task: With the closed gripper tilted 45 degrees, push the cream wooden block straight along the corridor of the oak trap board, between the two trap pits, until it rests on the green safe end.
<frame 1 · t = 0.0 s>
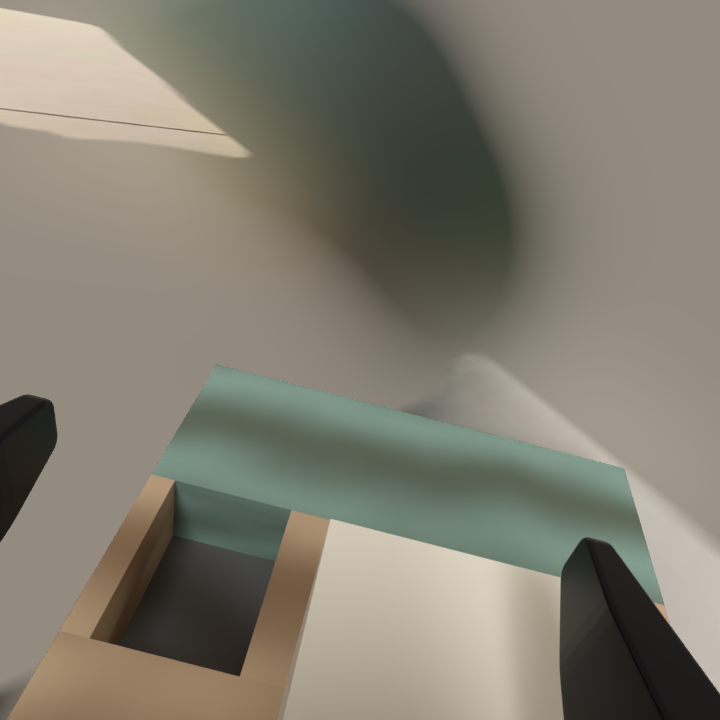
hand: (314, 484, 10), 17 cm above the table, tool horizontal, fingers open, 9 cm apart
trap board: (375, 681, 24), on the table
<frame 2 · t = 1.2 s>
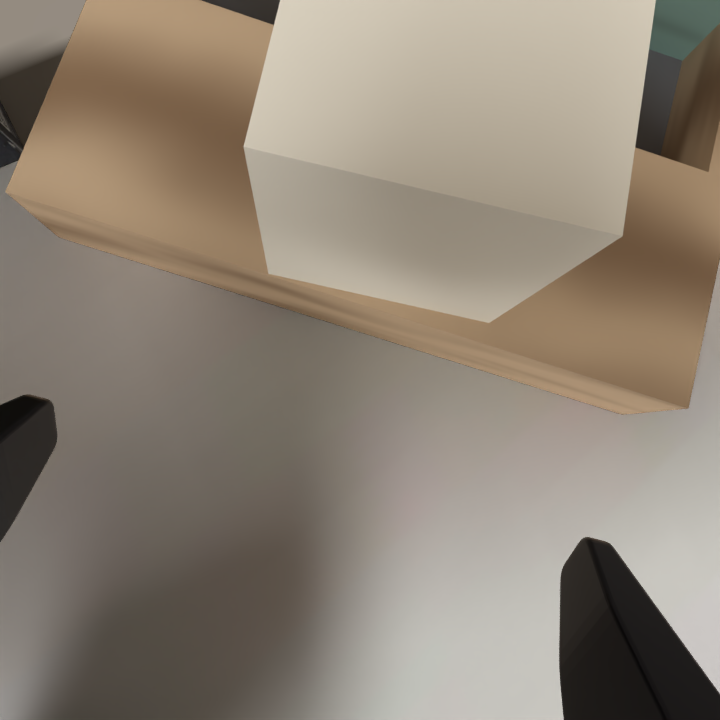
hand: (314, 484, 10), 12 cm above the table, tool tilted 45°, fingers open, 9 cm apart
trap board: (426, 71, 24), on the table
cream block: (404, 179, 19), point 4 cm above the table, touching trap board
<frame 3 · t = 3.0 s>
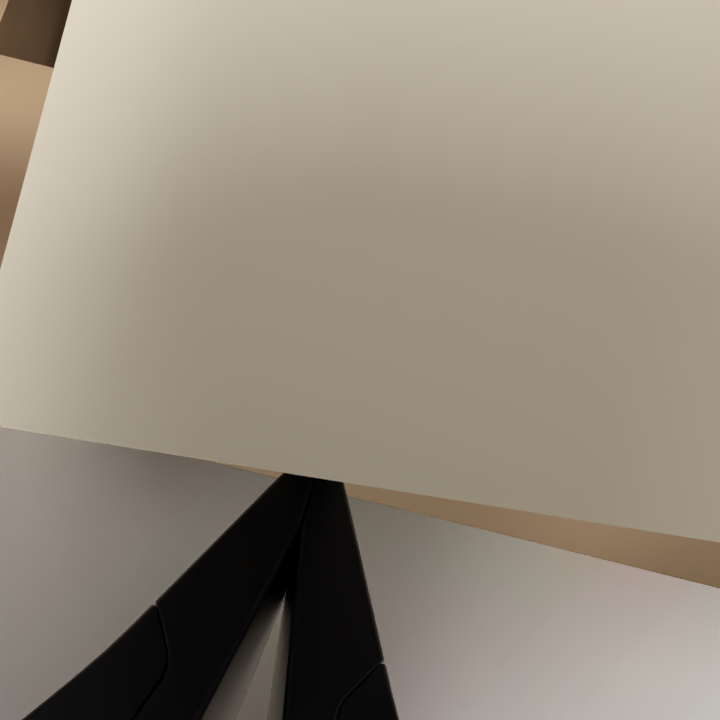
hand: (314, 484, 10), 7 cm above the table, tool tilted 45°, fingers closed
trap board: (405, 130, 19), on the table
cream block: (372, 292, 14), point 4 cm above the table, touching gripper, trap board
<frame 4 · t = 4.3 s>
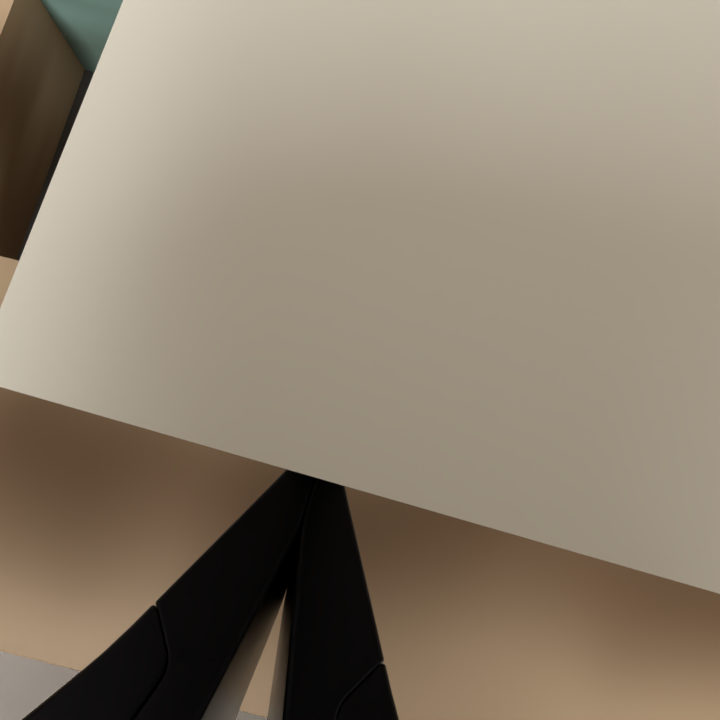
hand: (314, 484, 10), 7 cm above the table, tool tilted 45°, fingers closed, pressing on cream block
trap board: (369, 273, 18), on the table
cream block: (388, 301, 14), point 4 cm above the table, touching gripper
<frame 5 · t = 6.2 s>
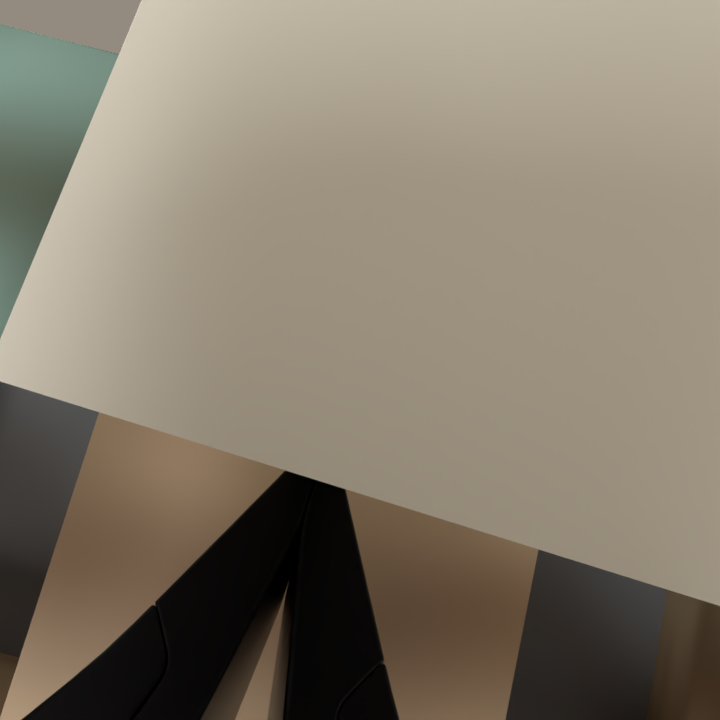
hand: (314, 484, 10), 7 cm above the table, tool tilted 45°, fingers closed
trap board: (290, 598, 17), on the table
cream block: (398, 302, 14), point 4 cm above the table, touching gripper
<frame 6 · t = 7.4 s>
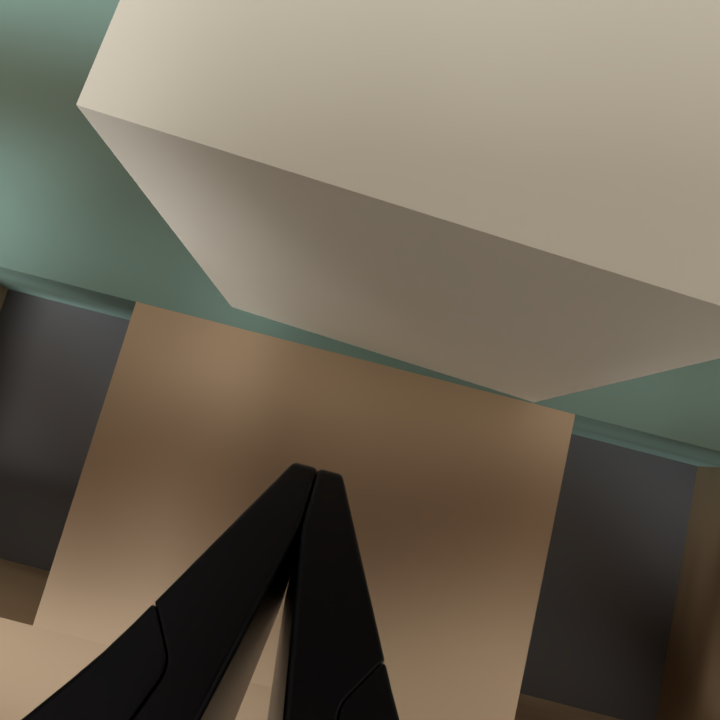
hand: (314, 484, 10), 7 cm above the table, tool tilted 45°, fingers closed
trap board: (315, 518, 17), on the table
cream block: (433, 191, 14), point 4 cm above the table, touching trap board
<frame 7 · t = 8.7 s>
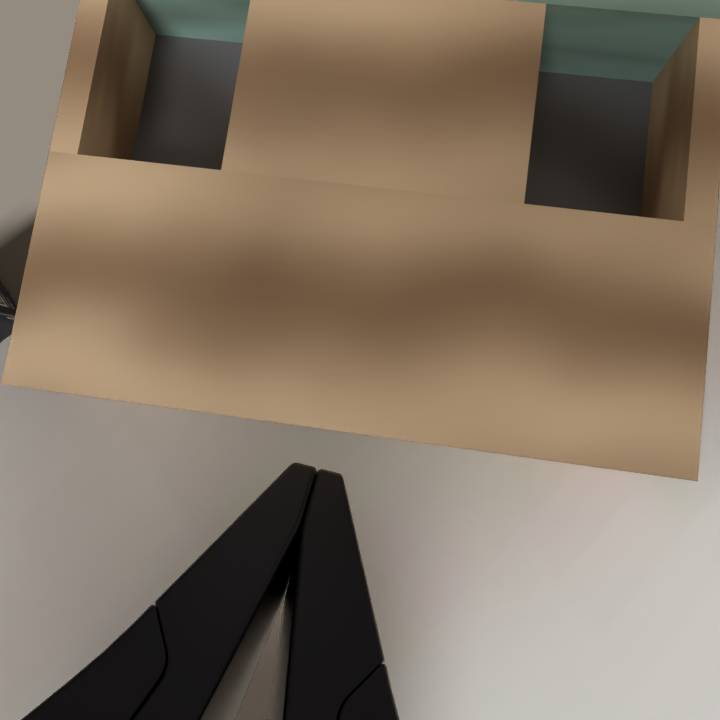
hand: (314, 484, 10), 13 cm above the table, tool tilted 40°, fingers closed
trap board: (383, 155, 24), on the table
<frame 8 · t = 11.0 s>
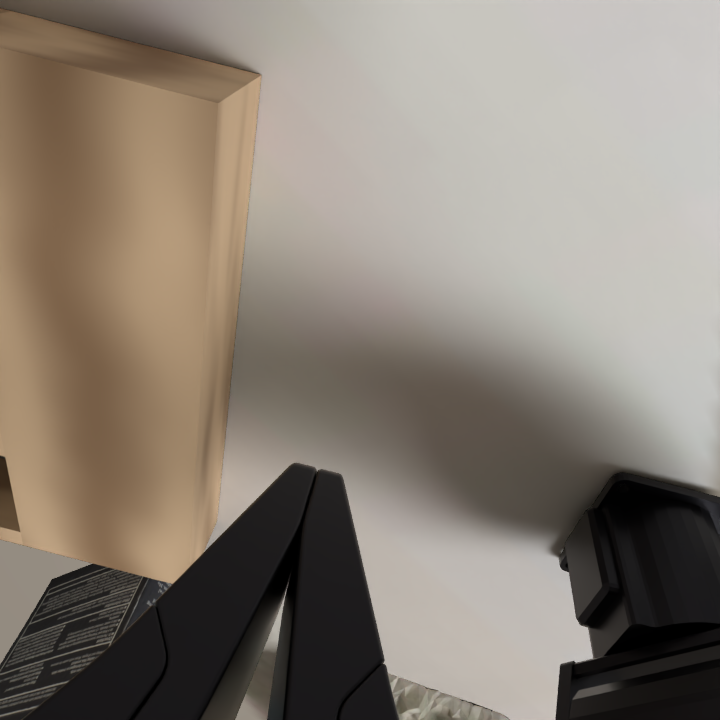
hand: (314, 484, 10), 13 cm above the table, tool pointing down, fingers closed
small box: (146, 584, 37), on the table
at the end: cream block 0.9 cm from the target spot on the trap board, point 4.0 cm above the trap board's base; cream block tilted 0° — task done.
